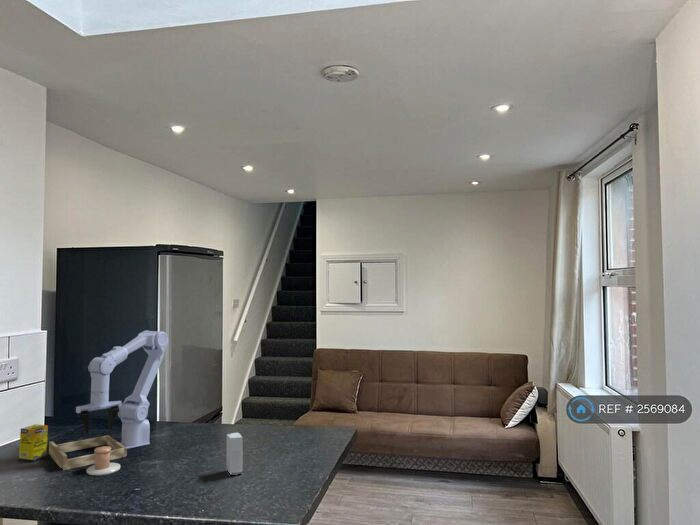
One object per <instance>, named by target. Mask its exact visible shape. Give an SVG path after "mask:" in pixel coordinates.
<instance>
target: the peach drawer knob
mask: <svg viewBox="0 0 700 525" xmlns="http://www.w3.org/2000/svg"><path fill="white" fill-rule="evenodd" d="M111 450H112V448H111V447H109V446H108V445H102V446H97V447H95V448H94V454H95V464H94V465H95V469H98V470H101V469H106V468H108V467H109V465H110V463H111V462H110V461H111V460H110V451H111Z"/></svg>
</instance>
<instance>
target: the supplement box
mask: <svg viewBox="0 0 700 525" xmlns="http://www.w3.org/2000/svg"><path fill="white" fill-rule="evenodd" d="M48 428H49V425H46V424H36V423H35V424H32V425H29V426H26V427H22V428H20V433H19V434H20V435H19V437H20V438H19V449H18V450H19V451H18V452H19V453H18V461H21V462H29V461H31V462H30V463H34V462H35V461H38V460H40V458H41V459H42V458H46V457H47V451H48V450H47V448H48V433H49V431H48V430H49V429H48ZM33 461H34V462H33Z"/></svg>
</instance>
